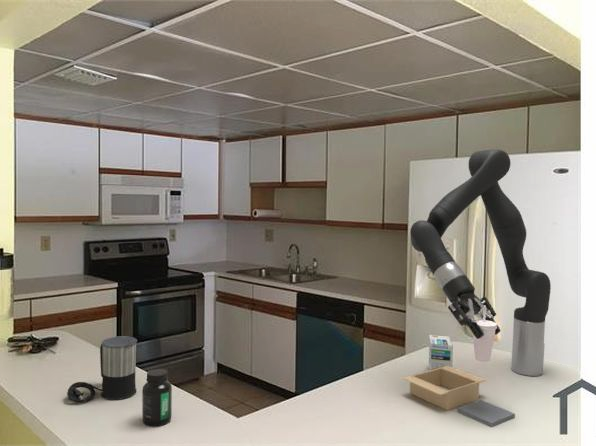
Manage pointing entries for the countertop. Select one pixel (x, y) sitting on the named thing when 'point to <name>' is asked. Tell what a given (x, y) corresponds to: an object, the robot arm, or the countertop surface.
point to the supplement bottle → (157, 399)
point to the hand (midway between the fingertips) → (489, 334)
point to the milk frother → (112, 371)
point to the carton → (452, 378)
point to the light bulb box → (440, 352)
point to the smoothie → (484, 339)
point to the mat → (486, 413)
